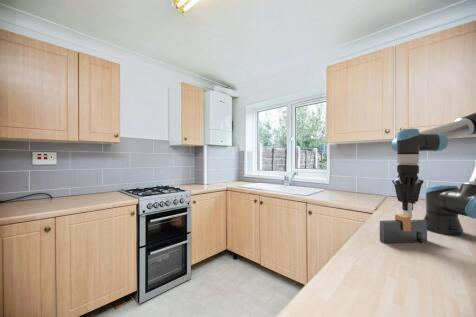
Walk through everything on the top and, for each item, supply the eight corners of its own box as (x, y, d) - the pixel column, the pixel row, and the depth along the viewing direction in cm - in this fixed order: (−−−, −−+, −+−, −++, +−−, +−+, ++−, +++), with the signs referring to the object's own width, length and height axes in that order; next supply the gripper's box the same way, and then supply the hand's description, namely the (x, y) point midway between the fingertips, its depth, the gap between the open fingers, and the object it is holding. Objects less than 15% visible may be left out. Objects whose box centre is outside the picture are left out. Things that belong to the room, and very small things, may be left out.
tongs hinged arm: (414, 240, 92) (414, 220, 92) (416, 241, 91) (416, 221, 91) (381, 241, 91) (381, 221, 91) (384, 242, 90) (384, 222, 90)
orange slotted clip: (401, 227, 94) (401, 214, 94) (410, 231, 90) (410, 217, 90) (395, 227, 94) (395, 214, 94) (403, 231, 90) (403, 217, 90)
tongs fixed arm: (424, 239, 94) (424, 219, 94) (431, 242, 91) (431, 221, 91) (379, 240, 93) (379, 220, 93) (385, 243, 89) (385, 222, 89)
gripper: (413, 164, 96) (413, 215, 96) (387, 164, 95) (387, 215, 95) (429, 164, 89) (429, 219, 89) (401, 164, 88) (401, 220, 88)
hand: (407, 217), depth 92 cm, fingers closed
